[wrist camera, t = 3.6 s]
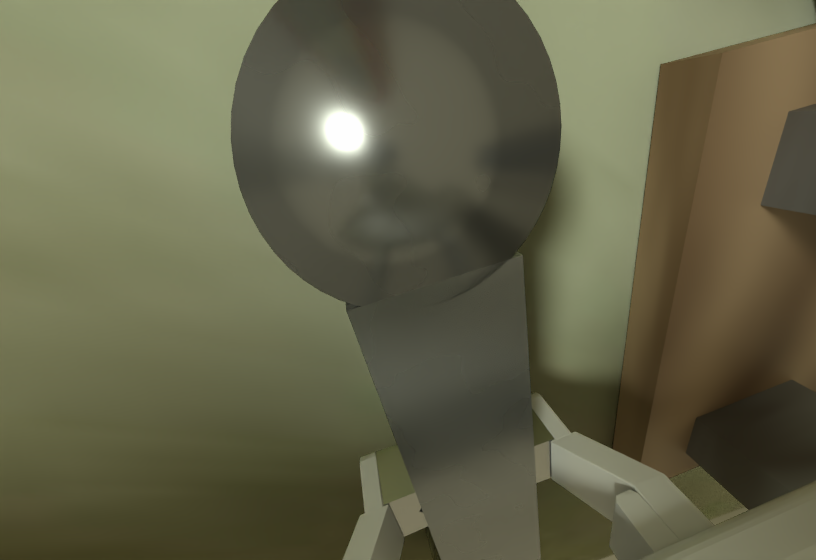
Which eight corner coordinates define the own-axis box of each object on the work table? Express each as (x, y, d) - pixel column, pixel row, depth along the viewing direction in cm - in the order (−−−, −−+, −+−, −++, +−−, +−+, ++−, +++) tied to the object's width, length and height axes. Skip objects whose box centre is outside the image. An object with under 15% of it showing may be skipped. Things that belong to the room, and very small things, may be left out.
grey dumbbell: (435, 556, 17) (464, 669, 13) (241, 65, 7) (144, -8, 3) (512, 524, 17) (559, 625, 14) (442, 18, 7) (561, -91, 4)
